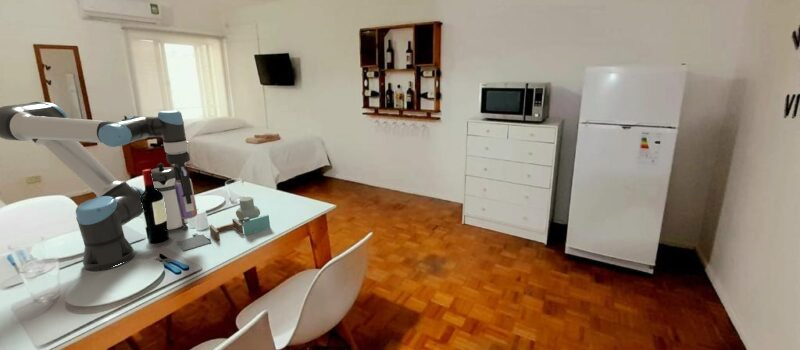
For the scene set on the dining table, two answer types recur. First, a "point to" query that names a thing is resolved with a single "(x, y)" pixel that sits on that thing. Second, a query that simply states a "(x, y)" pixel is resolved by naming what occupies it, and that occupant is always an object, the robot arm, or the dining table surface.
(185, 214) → the beverage can
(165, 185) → the coffee press
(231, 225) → the holder
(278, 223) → the dining table surface
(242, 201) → the air freshener
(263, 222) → the teal box
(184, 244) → the mat
